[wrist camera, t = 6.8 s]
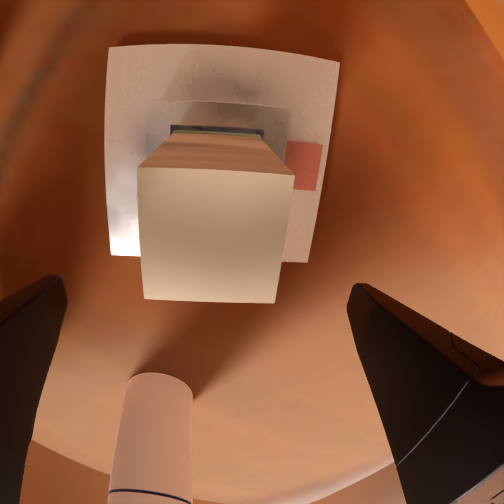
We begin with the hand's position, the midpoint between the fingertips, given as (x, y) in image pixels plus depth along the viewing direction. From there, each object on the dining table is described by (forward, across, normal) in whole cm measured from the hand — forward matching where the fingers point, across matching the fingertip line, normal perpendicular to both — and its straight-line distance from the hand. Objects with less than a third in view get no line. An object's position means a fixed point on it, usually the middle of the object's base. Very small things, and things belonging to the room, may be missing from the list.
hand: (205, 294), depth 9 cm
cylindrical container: (+13, +5, +22) cm, 26 cm away
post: (+8, 0, -2) cm, 8 cm away
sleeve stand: (+13, 0, -2) cm, 13 cm away
